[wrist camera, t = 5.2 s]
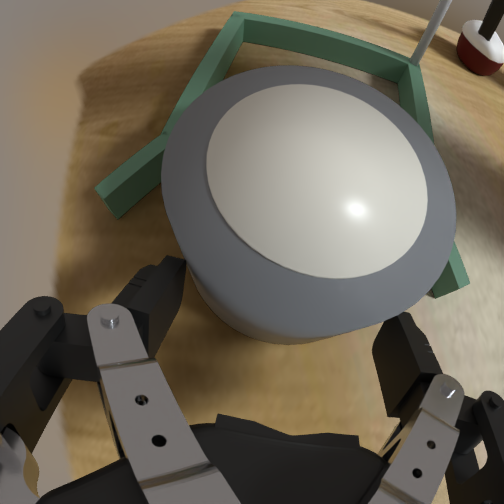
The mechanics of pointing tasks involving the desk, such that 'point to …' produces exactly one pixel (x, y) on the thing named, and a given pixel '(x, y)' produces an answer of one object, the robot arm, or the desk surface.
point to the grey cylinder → (306, 203)
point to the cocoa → (482, 42)
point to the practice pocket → (303, 41)
